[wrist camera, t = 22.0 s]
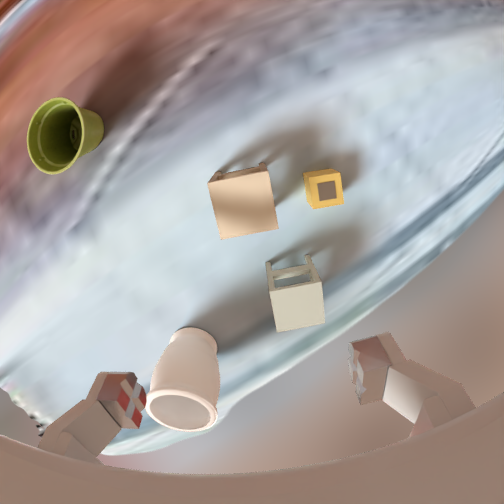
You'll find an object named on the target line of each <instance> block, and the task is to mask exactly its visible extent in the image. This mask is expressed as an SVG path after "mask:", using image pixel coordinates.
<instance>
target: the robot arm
mask: <svg viewBox="0 0 504 504" xmlns="http://www.w3.org/2000/svg"><path fill="white" fill-rule="evenodd" d="M348 350H349V353H350V355H351V356H350V358H349V359H348V364H349V365H348V366H349V373H350V377H351V380H352V383H354V384H356V394H357V397H358V400H359V403H360V405H363V404H367V403H371V402H375V401H379V400H383V401H384V402H385V403H387V404H388V405H389V406H391V407H392V408H393V409H395V410H396V411H398V412H399V413H400V414H402V415H403V416H404V417H406V418H407V419H408V420H410V421H411V422H413V423H414V427H413V429H412V431H411V434H410V436H409V438H408V439H405V440H402V441H400V442H396V443H394V444H391V445H388V446H384V447H381V448H378V449H375V450H372V451H368V452H364V453H361V454H357V455H353V456H349V457H345V458H341V459H337V460H332V461H328V462H323V463H318V464H312V465H307V466H301V467H295V468H288V469H280V470H272V471H262V472H251V473H234V474H176V473H175V474H174V473H161V472H150V471H139V470H131V469H125V468H118V467H112V466H106V465H104V464H103V463H102V462H101V461H100V460H99V459H97V458H96V457H97V456H98V455H99V454H100V453H101V452H102V450H103V449H104V448H105V447H106V446H107V445H108V444H109V443H110V442H111V440H112V439H113V438H114V437H115V436H116V435H117V434H118V433H119V431H120V430H121V428H129V429H139V427H140V423H141V420H142V417H143V416H142V414H141V411H142V410H143V409H144V408H145V406H146V402H147V398H146V392H145V390H144V388H143V387H142V385H140V384H138V383H137V377H136V376H135V374H134V373H133V372H100V373H99V374H98V375H97V377H96V379H95V381H94V383H93V385H92V387H91V389H90V391H89V394H88V396H87V398H86V400H82V401H80V402H79V403H78V404H76V405H75V406H74V407H73V408H71V409H70V410H69V411H67V412H66V413H65V414H64V415H62V416H61V417H60V418H58V419H57V420H56V421H54V422H53V423H52V424H51V425H49V426H48V427H47V428H46V430H45V433H44V435H43V437H42V439H41V441H40V443H39V445H38V448H35V447H32V446H30V445H27V444H24V443H21V442H18V441H16V440H13V439H10V438H8V437H5V436H3V435H1V434H0V504H504V392H503V393H501V394H500V395H498V396H496V397H494V398H493V399H491V400H489V401H488V402H486V403H484V404H482V405H480V406H479V407H477V408H476V407H475V406H474V404H473V402H472V401H471V399H470V397H469V396H468V394H467V393H466V391H465V389H464V388H463V386H462V385H461V383H459V382H457V381H454V380H452V379H450V378H448V377H446V376H444V375H442V374H440V373H437V372H435V371H433V370H431V369H429V368H427V367H425V366H423V365H420V364H419V363H416V362H414V361H412V360H406V358H405V357H404V355H403V353H402V352H401V350H400V348H399V347H398V345H397V343H396V342H395V340H394V338H393V337H392V335H391V333H389V332H385V333H382V334H378V335H376V336H371V337H368V338H364V339H360V340H356V341H352V342H349V349H348Z"/></svg>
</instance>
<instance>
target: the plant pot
mask: <svg viewBox="0 0 504 504" xmlns="http://www.w3.org/2000/svg"><path fill="white" fill-rule="evenodd" d="M73 130H74V137H75V139H73V135H72V131H73ZM103 134H104V124H103V121H102V119H101V117H100V116H99V115H98V114H96V113H95V112H93V111H90V110H87V109H83V108H80V107H78V106H77V105H76V104H75V103H74V102H73V101H71V100H69V99H67V98H62V97H57V98H52V99H50V100H48V101H46V102H45V103H43V104H42V105H41V106H40V107H39V108H38V109H37V110H36V112H35V113H34V115H33V117H32V119H31V121H30V124H29V128H28V133H27V147H28V152H29V155H30V158H31V160H32V162H33V163H34V164H35V166H36V167H37V168H38V169H39V170H41V171H42V172H44V173H47V174H58V173H61V172H63V171H65V170H67V169H68V168H70V167H71V166H72V165H73V164H74V163H75V161H76V160H77V159H78V158H79V157H81V156H83V155H84V154H86V153H88V152H90V151H92V150H94V149H95V148H96V147H97V146H98V145H99V143H100V141H101V140H102V138H103Z"/></svg>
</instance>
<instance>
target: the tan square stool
mask: <svg viewBox="0 0 504 504" xmlns="http://www.w3.org/2000/svg"><path fill="white" fill-rule="evenodd" d="M207 184H208V188H209V192H210V197H211V201H212V205H213V209H214V213H215V217H216V221H217V225H218V229H219V234H220V238H221V240H222V239H227V238H232V237H237V236H243V235H248V234H253V233H258V232H264V231H269V230H275V229H279V228H278V222H277V217H276V211H275V205H274V200H273V194H272V189H271V183H270V178H269V173H268V170H267V168H266V166H265V164H264V163H260V164H259V167H253V168H248V169H243V170H238V171H233V172H228V173H224V174H221V171H220V172H215V174H214V175H213V176H212V178H211V179H210V180H209V182H208V183H207Z"/></svg>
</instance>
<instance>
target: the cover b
mask: <svg viewBox="0 0 504 504" xmlns="http://www.w3.org/2000/svg"><path fill="white" fill-rule="evenodd" d="M304 256H305V261H306V263H307V264H306V265H301V266H296V267H290V268H285V269H280V270H274V271H272V269H271V263H270V262H266V271H267V278H268V286H269V293H270V298H271V303H272V308H273V313H274V319H275V324H276V329H277V332H282V331H288V330H293V329H298V328H303V327H308V326H313V325H318V324H323V323H325V317H324V304H323V292H322V282H321V280H320V277H319V275H318V273H317V271H316V268H315V266H314V264H313V262H312V260H311V258H310V255H304ZM305 274H309V276H310V282H305V283H300V284H294V285H289V286H284V287H279V288H275V285H274V280H278V279H284V278H289V277H294V276H300V275H305Z"/></svg>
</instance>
